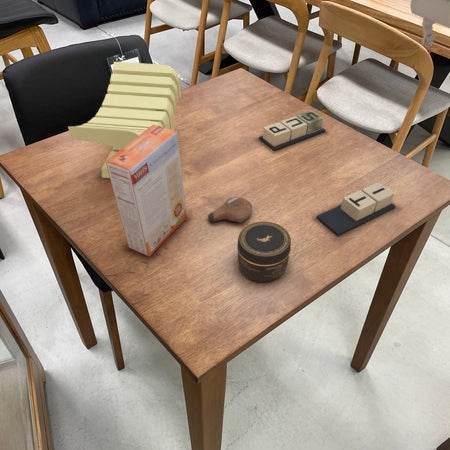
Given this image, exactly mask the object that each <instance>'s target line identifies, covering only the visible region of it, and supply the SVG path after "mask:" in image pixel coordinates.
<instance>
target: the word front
mask: <svg viewBox="0 0 450 450" xmlns="http://www.w3.org/2000/svg"><path fill="white" fill-rule="evenodd" d="M395 194H396V193H395V192H394V191H392V190H391V189H389V188H388V187H386V186H385V185H384V184H382V183H381V182H379V181H377V182H375V183H373V184H370V185H368V186H366V187H364V188H362V189H359V190H357V191H355V192H353V193H351V194H348V195H346V196H344V197H343V198H342V201H341V204H339V205H337V206H335V207H333V208H331V209H329V210H326V211H324V212H322V213H320V214H317V216H316V218H315V219H317V220H318V221H319V222H320V223H322V224H323V225H324V226H325V227H326V228H327V229H329V230H330V231H331V232H332V233H333V234H334V235H336V236H337V237H340V236H341V235H343V234H345V233H347V232H349V231H351V230H353V229H356V228H357V227H359V226H361V225H364V224H365V223H368V222H369V221H371V220H373V219H376V218H377V217H379V216H382V215H384V214H386V213H388V212H390V211H393V210H394V209H396V205H395V204H394V203H393V199H394V197H395Z"/></svg>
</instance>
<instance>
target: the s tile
mask: <svg viewBox="0 0 450 450" xmlns="http://www.w3.org/2000/svg"><path fill="white" fill-rule="evenodd" d="M296 117H297V118H299V119H300V120H302V121H303V122H305V123H306V124H307V130H306V133H307V134H308V133H311V132H314V131H316V130H319V129H321V128H323V121H324V117H323V116H321V115H319V114H318V113H317V112H315V111H313V110H308V111H305V112H302V113H300V114H296Z"/></svg>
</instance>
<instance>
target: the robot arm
mask: <svg viewBox="0 0 450 450" xmlns="http://www.w3.org/2000/svg"><path fill="white" fill-rule="evenodd" d="M409 8H410V11H411V14H412V15H415V16H418V17H420V18H423V20H422V23H421V27H422V34H423V37H422V40H421V45H422V46H425V47H426V48H429V47H432V46H433V44H434V43H435V42H434V40H435V39H436V35H435V34H433V33H434V32H433V31H434V30H433V25H435V24H437V25H440V26H443V27H445V28H448V29H450V0H410V5H409Z"/></svg>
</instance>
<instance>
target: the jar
mask: <svg viewBox="0 0 450 450" xmlns="http://www.w3.org/2000/svg"><path fill="white" fill-rule="evenodd" d="M291 245H292V240H291V235H290V233H289V231H288V230H287V229H285V227H283V226H281V225H280V224H278V223H275V222H271V221H255V222H252V223H250V224H246V226H244V227H243V228H242V229H241V230H240V232H239V234H238V238H237V246H236V247H237V263H238V267H239V270H240V271H241V273H242V274H243V275H244V276H245V277H246V278H247V279H249V280H251V281H254V282H257V283H269V282H272V281H275V280H277V279H279V278H280V277H281V276H282V275H283V274H284V273H285V271H286V269H287V267H288V264H289V258H290V254H291V249H292V248H291V247H292V246H291Z"/></svg>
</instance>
